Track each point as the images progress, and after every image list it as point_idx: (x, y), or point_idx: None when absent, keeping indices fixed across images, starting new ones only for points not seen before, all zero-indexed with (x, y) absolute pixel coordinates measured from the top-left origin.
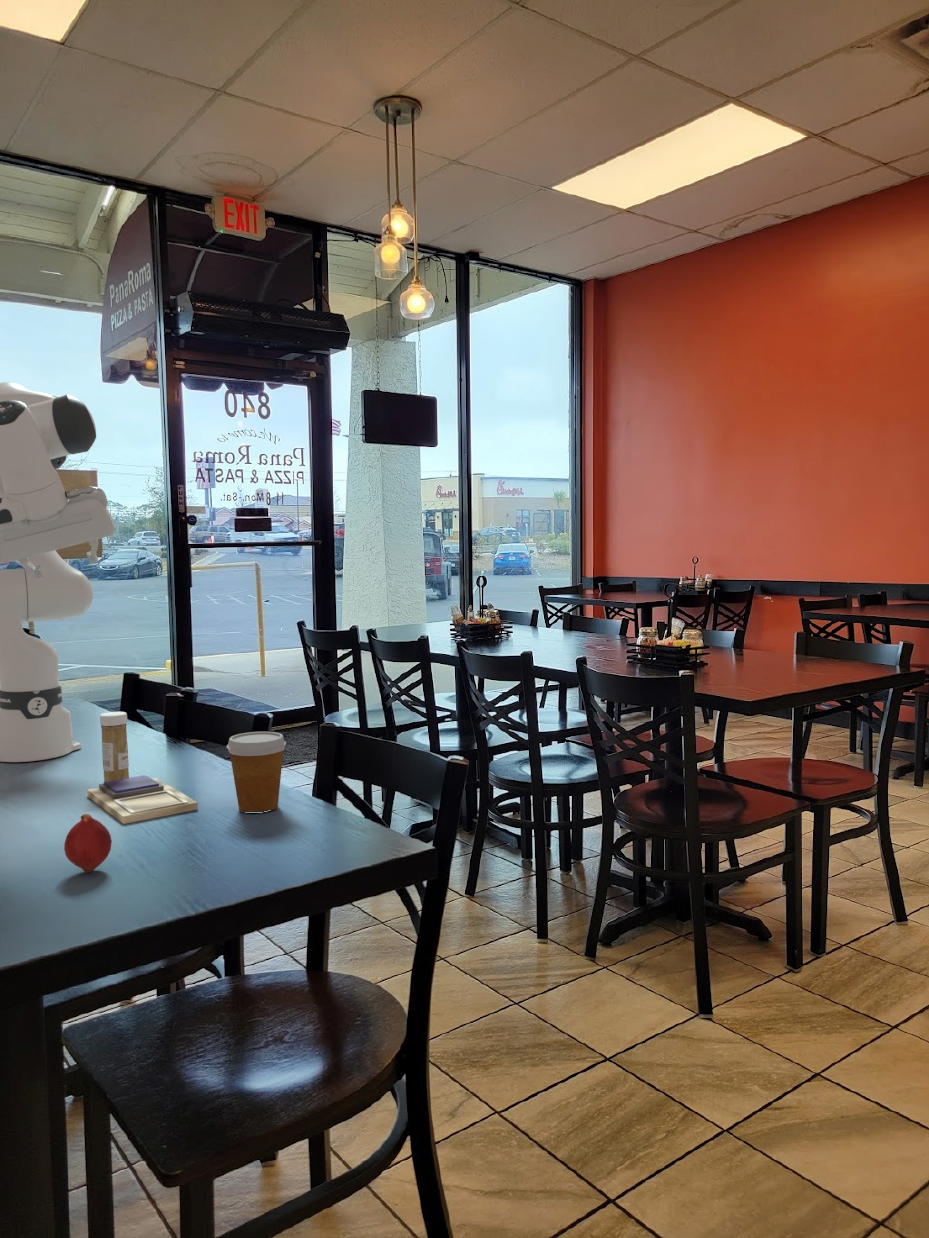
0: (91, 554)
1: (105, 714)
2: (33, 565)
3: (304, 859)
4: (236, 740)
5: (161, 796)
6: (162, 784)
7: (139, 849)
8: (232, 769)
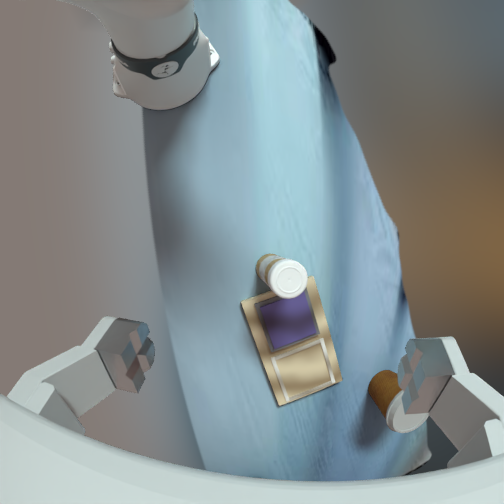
0: (430, 412)
1: (278, 286)
2: (93, 363)
3: (373, 474)
4: (398, 414)
5: (314, 354)
6: (318, 308)
7: (287, 454)
8: (381, 404)
